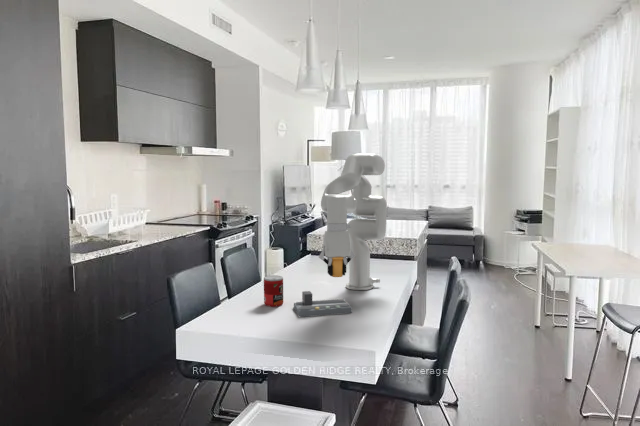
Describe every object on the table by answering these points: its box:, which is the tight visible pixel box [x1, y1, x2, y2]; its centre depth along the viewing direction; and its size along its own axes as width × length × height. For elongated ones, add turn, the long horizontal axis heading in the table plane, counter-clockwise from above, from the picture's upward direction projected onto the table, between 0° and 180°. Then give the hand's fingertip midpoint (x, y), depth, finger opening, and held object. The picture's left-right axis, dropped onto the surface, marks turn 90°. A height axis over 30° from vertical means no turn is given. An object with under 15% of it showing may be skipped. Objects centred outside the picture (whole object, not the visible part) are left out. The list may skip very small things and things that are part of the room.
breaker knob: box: [301, 290, 313, 306], centre depth 177 cm, size 3×4×5 cm
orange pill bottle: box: [331, 257, 344, 278], centre depth 178 cm, size 5×5×8 cm
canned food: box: [263, 274, 284, 308], centre depth 187 cm, size 8×8×11 cm
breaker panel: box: [293, 298, 353, 318], centre depth 178 cm, size 20×12×3 cm, turn 103°
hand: (336, 274), depth 178 cm, fingers closed on orange pill bottle, 4 cm apart
